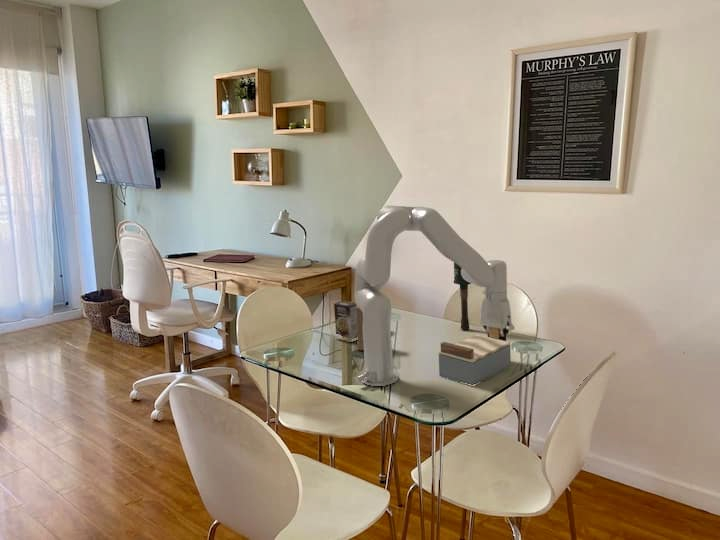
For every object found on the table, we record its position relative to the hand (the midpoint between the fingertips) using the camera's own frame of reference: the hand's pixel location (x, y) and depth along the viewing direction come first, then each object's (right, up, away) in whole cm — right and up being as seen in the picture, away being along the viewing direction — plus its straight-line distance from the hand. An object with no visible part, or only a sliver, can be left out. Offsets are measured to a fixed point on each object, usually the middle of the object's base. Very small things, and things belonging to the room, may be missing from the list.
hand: (496, 343), depth 195 cm
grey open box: (-9, -9, -8) cm, 15 cm away
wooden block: (-45, -5, +22) cm, 50 cm away
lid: (-10, 0, -9) cm, 13 cm away
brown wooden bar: (0, -6, +1) cm, 6 cm away
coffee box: (-54, -3, +36) cm, 65 cm away
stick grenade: (-4, +1, +39) cm, 39 cm away
